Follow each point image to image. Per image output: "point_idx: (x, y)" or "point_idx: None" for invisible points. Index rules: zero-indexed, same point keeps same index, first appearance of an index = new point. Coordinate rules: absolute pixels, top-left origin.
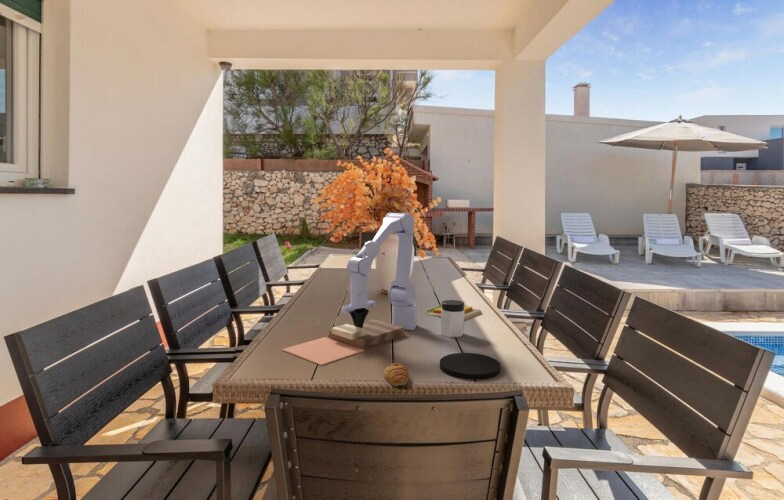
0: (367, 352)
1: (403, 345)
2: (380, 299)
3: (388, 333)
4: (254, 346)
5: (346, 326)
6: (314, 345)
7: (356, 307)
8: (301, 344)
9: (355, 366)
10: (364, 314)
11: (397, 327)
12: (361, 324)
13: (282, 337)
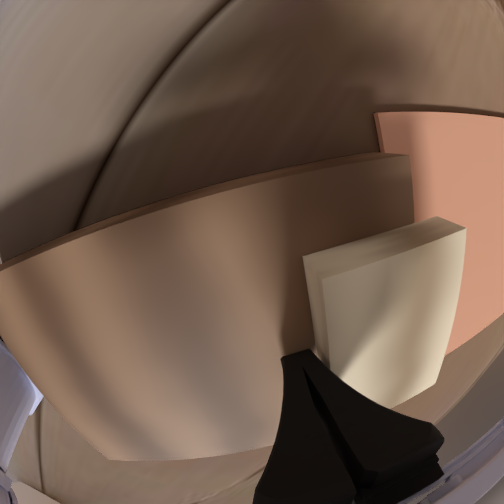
0: (367, 86)
1: (82, 77)
2: (64, 497)
3: (86, 233)
4: (496, 355)
5: (374, 394)
6: (464, 310)
7: (490, 477)
8: (470, 334)
9: (458, 23)
10: (328, 459)
11: (4, 303)
12: (306, 384)
13: (435, 406)
